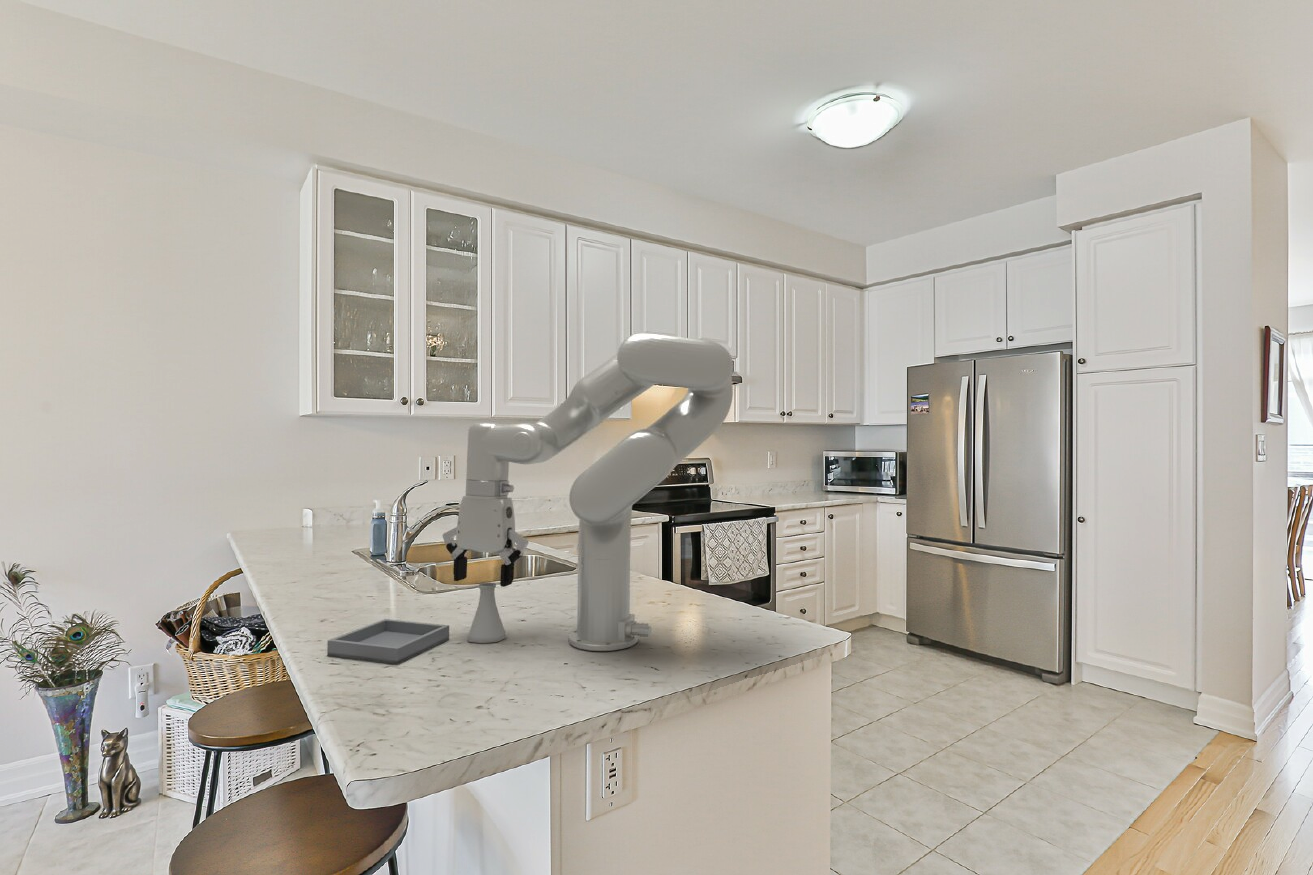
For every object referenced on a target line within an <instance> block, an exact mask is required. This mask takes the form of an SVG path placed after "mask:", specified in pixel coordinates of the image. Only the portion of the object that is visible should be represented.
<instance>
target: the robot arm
mask: <svg viewBox="0 0 1313 875" xmlns="http://www.w3.org/2000/svg"><path fill="white" fill-rule="evenodd" d="M733 372H734V361H733V358H732V355H731V353H730V352H729V350H728V349H727V348H726V347H724V346H723V345H722V344H720V343H718V342H716V341H712V340H707V339H700V338H691V337H683V336H676V335H675V336H674V335H667V334H661V333H651V332H637V333H633V334H631V335H629V336H628V337H626V338H625V339H624V340H623V341H622V342H621V343H620V345H619V347H618V349H617V353H616V354H615V355H613V356H612V357H610V358H609V359H607V361H605V362H604V363H602V364H600V365H599V366H598V367H597V368H595V369H593V370H592V371H590V372H589V373H588V374H586V375H585V376H583V377H582V378H580V379H579V380H578V381H577V382H576V383H575V384H574V385H573V388H572V390H571V391H570V393H569V395H568V396H567V397H566V399H564V401H563V402H562V403H560V405H558V407H556V408H555V409H554V410H551V412H549V413H547V415H545V416H543V417H542V418H541V419H539V420H538V421H536V422H535V423H534V422H533V423H531V422H521V423H511V424H510V423H509V424H508V423H507V424H504V423H497V422H474V423H472V424H471V425H470V426H469V428H468V433H467V451H466V452H467V453H466V454H467V455H466V474H465V476H466V478H465V495H463V496H462V497H461V502H460V506H459V510H458V516H457V525H456V527H454V528H451V529H449V530H448V531H446V532H444V533H443V534H442V538H443V541H444V544H445V548H446V550H447V551H448V552H449V554H450V558H451V559H452V560H453V570H452V572H453V581H454V582H459V581H461V580H465V579H466V578H467V576H468V557H467V556H466V555H467V554H468V552H479V553H489V554H498V555H499V557H500V558H501V560H502V562H503V564H501V565H500V584H499V586H501V588H505V587H507V586H510V585H512V584H513V581H514V578H515V563H517V561H518V560H519V559H520V558H521V557H522V556H523V555H524V552H525V551H526V549H527V547H528V545H529V540H528V539H527V538H525V537H524V536H522V535H521V534H519V533H518V532H516V522H515V521H516V520H515V518H516V517H515V510H514V504H513V502H514V501H513V499H512V497H509V496H508V495H509V493H513V492H514V490H515V487H514V485H512V484H510V481H509V475H510V474H509V470H510V468H509V467H510V463H513V464H518V465H534V464H538V463H539V464H541V463H544V462H547V461H549V460H550V459H552V458H554V457H555V456H557V455H558V454H559V453H561V452H562V451H564V450H565V449H567V448H568V447H569V446H571V445H572V444H574V443H575V442H577V441H578V440H579V439H581V438H582V437H584V436H585V435H586V434H587V433H589V432H590V431H591V430H593V429H594V428H596V427H598V426H599V425H601V423H602V422H604V421H605V420H606V419H608V418H609V417H610V416H612V415H613V414H614V413H616V412H618V411H619V410H620V409H621V408H623V407H624V406H626V405H627V404H628V403H630V402H632V401H633V400H634V399H637V397H639V396H641V395H642V394H643V393H645V392H646V391H648V390H649V389H650V388H652V387H653V386H655V385H663V386H669V387H677V388H684V389H687V391H686V394H685V395H684V397H682V399H681V400H680V401H679V402H678V403H676V404H675V405H674V406H672V407H671V408H670V409H669V410H668V411H667V412H665V414H663V415H662V416H661V417H659V418H658V419H657V420H656V421H654V422H653V423H652V424H650V425H649V426H647V427H646V428H642V429H639V430H636V431H634V432H632V433H629V435H628V436H626V437H625V438H623V439H622V440H621V441H619V442H618V443H617V444H616V445H614V446H613V447H612V448H611V449H610V450H608V451H607V453H604V455H602V456H601V457H600V458H599V459H598V460H597V461H595V462H594V463H593V464H591V466H589V467H588V468H587V469H585V470H584V471H583V472H581V474H579V475H578V476H577V478H575V480H574V481H573V483H572V485H571V488H570V491H569V497H568V499H569V505H570V509H571V511H572V512H573V514H574V515H575V517H577V519H578V520H579V521H578V534H577V535H578V536H577V538H578V539H577V540H578V541H577V605H576V606H577V608H576V609H577V616H576V617H577V619H576V620H577V621H576V622H577V623H576V624H577V626H576V629H574V630H573V631H571V632H570V633H569V634H568V643H569V644H570V645H571V646H572V647H575V648H577V649H580V650H585V651H590V652H591V651H592V652H593V651H595V652H609V651H611V652H612V651H619V650H623V649H627V648H630V647H633V646H635V645H636V643H638V641H639V637H642V638H651V635H652V626H651V625H650V624H649V623H647V622H646V623H645V622H637V620H635V619H636V618H635V614H634V613H630V610H631V608H630V605H631V603H630V602H631V601H630V599H631V598H630V597H631V590H630V589H631V538H632V536H631V534H632V531H631V530H632V510H633V505H634V504H636V503H637V502H639V501H640V500H641V499H642V498H643V497H644V496H646V495H647V494H648V493H649V492H650V491H651V490H653V489H654V488H656V487H657V486H658V485H659V484H661V483H662V482H663V481H664V480H665V479H666V478H668V476H669V475H670V474H671V473H672V471H673V470H674V469H675V468H676V466H678V465H679V464H681V462H682V461H683V460H685V459H686V458H687V457H688V456H689V455H691V454H692V453H693V452H694V451H695V450H696V449H697V448H699V447H700V446H701V445H702V444H704V442H705V441H707V440H708V439H709V438H710V437H711V436H712V435H713V434H714V433H715V432H716V431H718V430H719V428H720V427H721V426H722V424H723V423H724V422H725V420H726V418H727V416H728V414H729V412H730V409H731V406H732V402H733V396H734V392H733V391H734V389H733V387H734V386H733V379H732V375H733ZM455 537H456V539H455ZM454 539H455V540H454ZM455 541H456V542H455ZM515 545H516V548H515ZM514 548H515V550H514V551H513V549H514Z"/></svg>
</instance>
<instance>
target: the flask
mask: <svg viewBox="0 0 1313 875" xmlns="http://www.w3.org/2000/svg"><path fill="white" fill-rule="evenodd" d="M496 587H497V583H496V582H481V583H479V584H478V589H479V591H480V595H479V598H478V599H479V600H478V605H477V607H476V612H475V615H474V617H473V620H472V623H471V625H470V628H469V631H468V634H467V642H471V643H477V644H478V643H479V644H488V643H496V642H498V643H499V642H500V641H502V640H504V639H507V633H506V631H505V627H504V625H503V622H502V619H501V616H500V613H499V609H498V606H497V603H496V598H495V597H496V596H495V595H496V594H495V588H496Z"/></svg>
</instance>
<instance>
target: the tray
mask: <svg viewBox="0 0 1313 875" xmlns="http://www.w3.org/2000/svg"><path fill="white" fill-rule="evenodd" d="M447 641H450V625H448V624H437V623H428V622H421V621H419V622H418V621H409V620H401V619H389V618H383V619H381V620H378V621H376V622H373V623H371V624H368V625H366V626H363V627H360V628H357V629H355V630H352V631H350V632H347V633H345V634H341V635H338V636H336V637H334V638H331V639H328V640H327V642H326V643H327V644H326V645H327V652H326V653H327V655H326V656H327V657H332V658H340V659H348V660H349V659H350V660H356V661H357V660H358V661H365V662H371V663H378V664H379V663H381V664H389V665H396V666H398V665H400V664H402V663H405V662H406V661H408V660H410V659H412V658H415V657H416V656H418V655H420V654H423V653H425V652H427V651H429V650H431V649H433V648H435V647H437V646H439V645H441V644H444V643H445V642H447Z"/></svg>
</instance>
